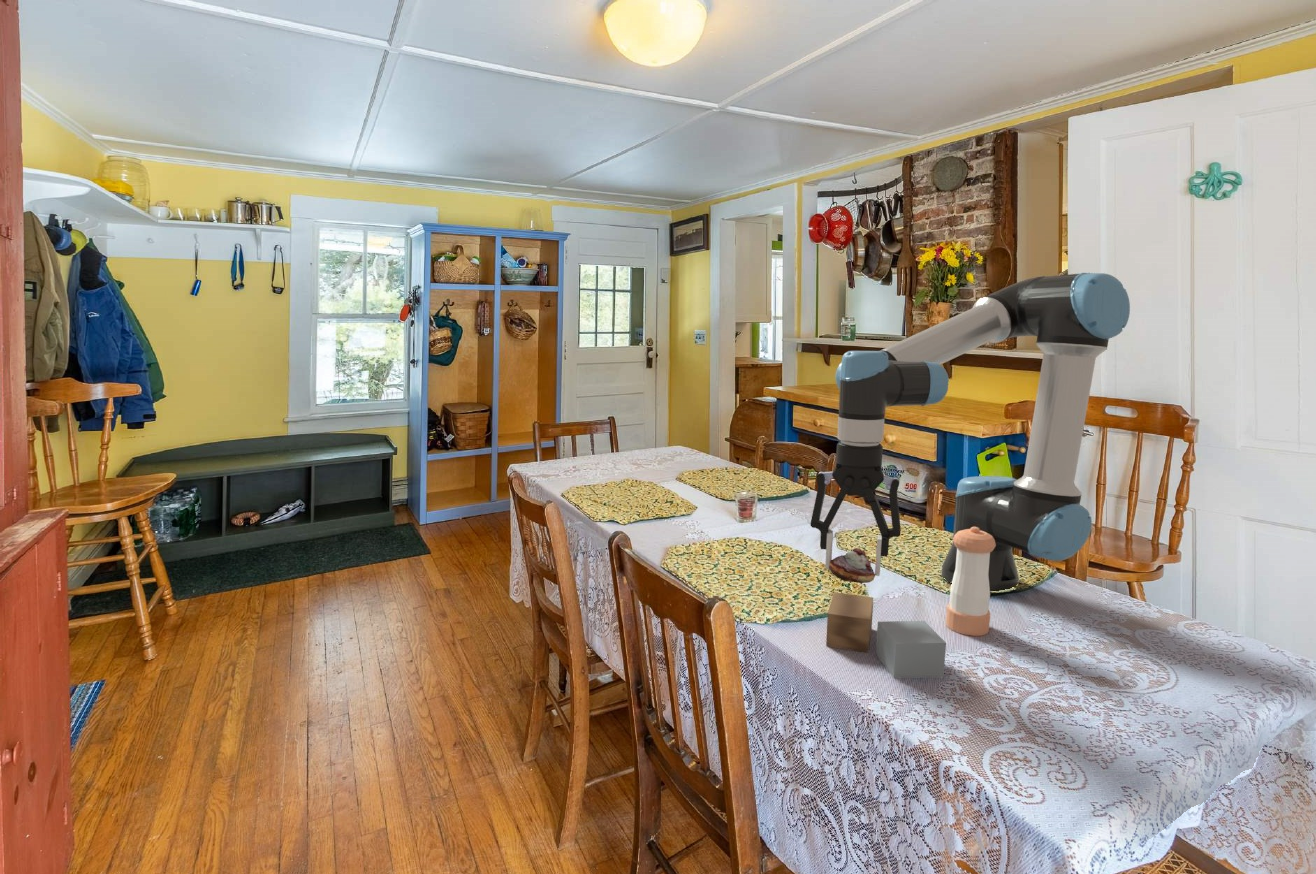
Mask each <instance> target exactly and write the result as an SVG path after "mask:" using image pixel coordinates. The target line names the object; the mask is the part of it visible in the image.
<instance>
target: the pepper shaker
mask: <svg viewBox="0 0 1316 874" xmlns="http://www.w3.org/2000/svg"><path fill="white" fill-rule="evenodd" d="M953 542H954V545H955V547H957V556H956V567H955V572H954V576H953V580H952V584H950V591H949V593H950V594H949V603H948V604H947V606H946V617H945V625H946V626H947V628H948V629H950V630H952V631H953V632H956V633H958V634H961V635H966V636H972V637H973V636H975V637H976V636H984V635H986V634H988V633H989V632H990V621H991V612H990V610H989V609H990V608H989V606H990V599H991V593H990V588H989V577H988V572H989V559H990V552H992V551H993V550H994V548H995V546H996V544H995V540H994V538H993V536H992V535H990V534H988V533H986V532H984V531H981V530H980V529H979V528H978V527H971V529H965V530H961V531H958V532H957V533H956V534H955V535H954V538H953V537H952V543H953Z"/></svg>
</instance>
